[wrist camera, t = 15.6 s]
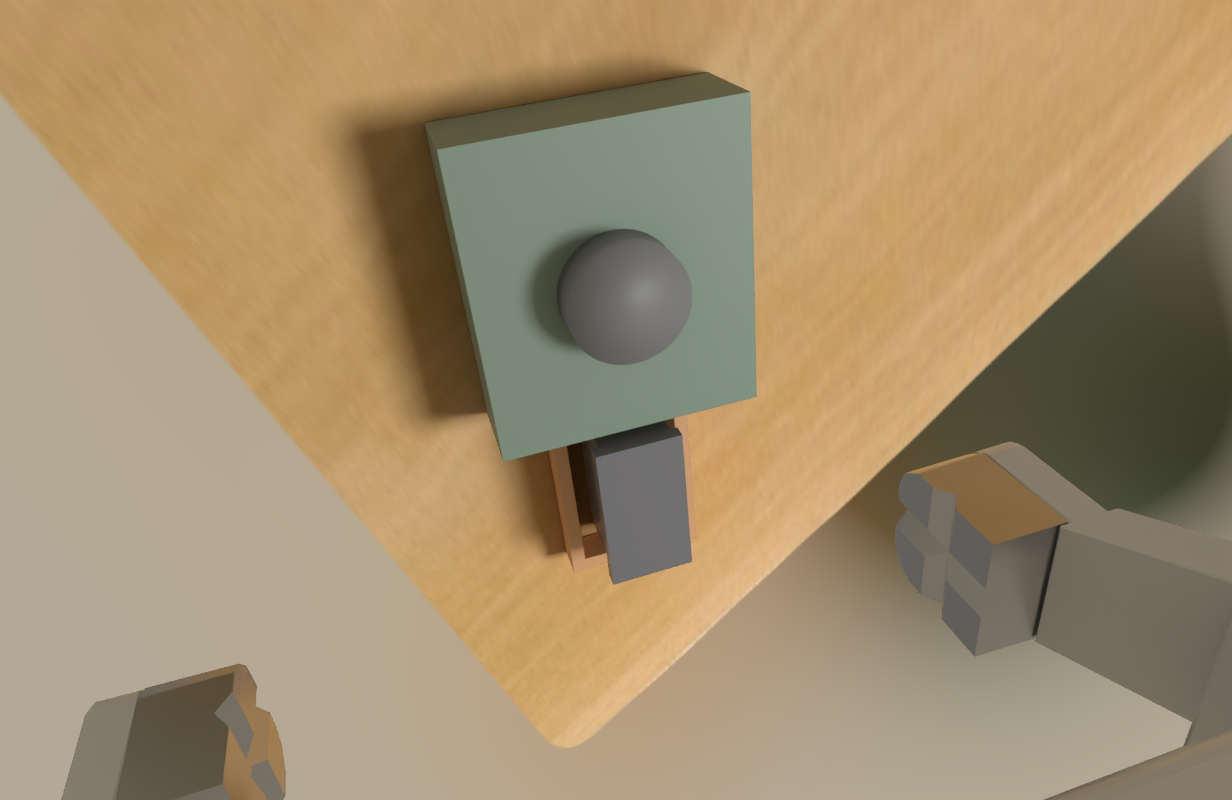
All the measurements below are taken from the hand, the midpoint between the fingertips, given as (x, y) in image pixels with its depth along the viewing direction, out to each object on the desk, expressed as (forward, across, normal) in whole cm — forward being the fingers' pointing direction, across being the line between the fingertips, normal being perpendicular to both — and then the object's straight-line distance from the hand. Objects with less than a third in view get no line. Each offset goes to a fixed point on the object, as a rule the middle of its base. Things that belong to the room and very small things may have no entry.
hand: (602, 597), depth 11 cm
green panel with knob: (+34, -8, +16) cm, 38 cm away
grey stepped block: (+34, -8, +23) cm, 42 cm away
